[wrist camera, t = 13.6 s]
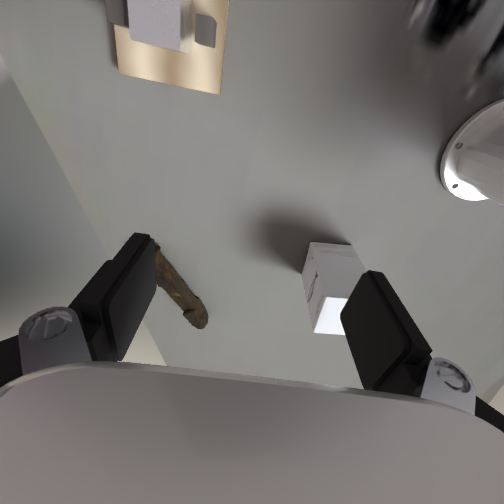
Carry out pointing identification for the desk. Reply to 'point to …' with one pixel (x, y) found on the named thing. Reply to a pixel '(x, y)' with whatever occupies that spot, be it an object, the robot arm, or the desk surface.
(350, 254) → the supplement box
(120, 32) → the board
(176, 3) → the light grey long block
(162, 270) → the hand tool
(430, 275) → the desk surface
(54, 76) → the desk surface
